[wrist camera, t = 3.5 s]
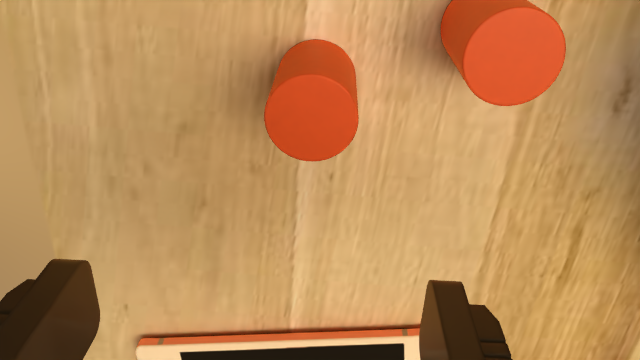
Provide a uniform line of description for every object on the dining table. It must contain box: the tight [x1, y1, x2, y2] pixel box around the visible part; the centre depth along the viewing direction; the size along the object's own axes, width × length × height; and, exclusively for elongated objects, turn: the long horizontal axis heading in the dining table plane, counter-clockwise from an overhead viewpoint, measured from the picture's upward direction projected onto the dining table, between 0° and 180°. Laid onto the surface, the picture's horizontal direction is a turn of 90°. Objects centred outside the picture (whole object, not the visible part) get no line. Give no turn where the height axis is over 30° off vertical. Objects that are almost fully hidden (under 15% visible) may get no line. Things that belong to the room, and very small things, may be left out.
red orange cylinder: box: [264, 40, 358, 161], centre depth 23 cm, size 4×4×5 cm
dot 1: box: [441, 0, 566, 106], centre depth 22 cm, size 4×4×5 cm
